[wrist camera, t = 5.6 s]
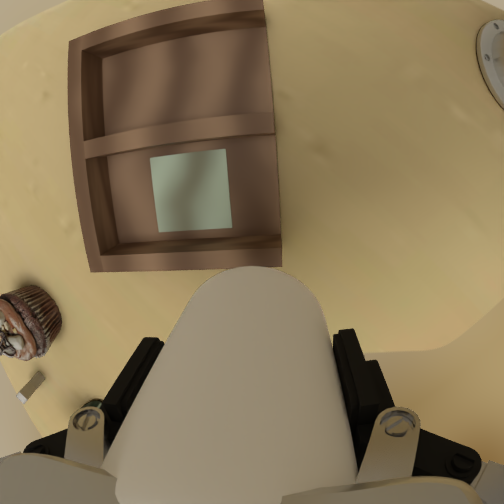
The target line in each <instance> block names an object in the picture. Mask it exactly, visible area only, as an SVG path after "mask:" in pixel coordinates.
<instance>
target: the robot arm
mask: <svg viewBox="0 0 504 504" xmlns="http://www.w3.org/2000/svg"><path fill="white" fill-rule="evenodd" d="M477 55H478V61H479V65H480V68H481V72H482V74H483V77H484V79H485V82H486V83H487V85H488V87H489V89H490V91H491V93H492V94H493V96H494V97H495V99H496V100H497V102H498V103H499V104H500V105H501V107H502V108H503V109H504V20H493V21H490V22H488V23H486V24H485V25H484V26H483V27H482V28H481V29H480V31H479V33H478V37H477ZM163 346H164V342H163V341H160V340H159V338H155V337H145V338H143V340H142V341H141V343H140V344H139V346H138V347H137V349H136V350H135V352H134V353H133V355H132V356H131V358H130V359H129V361H128V362H127V364H126V365H125V367H124V369H123V370H122V372H121V373H120V375H119V376H118V378H117V379H116V381H115V383H114V384H113V386H112V387H111V389H110V390H109V392H108V394H107V395H106V397H105V398H104V400H103V402H102V404H101V406H100V408H97V407H84V408H81V409H79V410H77V411H76V412H75V413H73V415H72V416H71V417H70V420H69V425H68V429H65V430H63V431H60V432H57V433H55V434H52V435H49V436H47V437H44V438H41V439H39V440H36V441H33V442H31V443H30V444H29V445H27V446H26V448H25V449H24V452H23V453H21V452H18V453H14V454H11V455H9V456H6V457H3V458H0V504H120V503H119V502H118V500H117V498H116V495H115V487H116V481H117V478H116V477H114V476H113V475H111V474H110V473H108V472H107V471H106V470H104V469H100V467H101V465H102V463H103V461H104V459H105V457H106V455H107V453H108V451H109V449H110V447H111V445H112V443H113V441H114V439H115V437H116V435H117V433H118V431H119V429H120V427H121V425H122V423H123V421H124V419H125V417H126V416H127V414H128V412H129V410H130V408H131V406H132V404H133V402H134V400H135V398H136V396H137V394H138V393H139V391H140V389H141V387H142V385H143V383H144V381H145V379H146V378H147V376H148V374H149V372H150V370H151V368H152V366H153V365H154V363H155V361H156V359H157V357H158V355H159V354H160V352H161V350H162V348H163ZM333 352H334V356H335V360H336V364H337V369H338V373H339V378H340V382H341V387H342V391H343V396H344V401H345V405H346V410H347V415H348V420H349V425H350V430H351V435H352V440H353V446H354V451H355V457H356V462H357V468H358V476H357V478H356V481H355V484H350V485H342V486H332V487H320V488H316V489H312V490H308V491H303V492H299V493H295V494H290V495H286V496H282V501H281V504H504V465H501V464H498V463H495V462H492V461H489V462H488V463H485V462H482V461H481V458H480V456H479V454H478V453H477V452H476V451H475V450H473V449H472V448H470V447H467V446H464V445H461V444H459V443H456V442H453V441H451V440H448V439H445V438H443V437H440V436H438V435H435V434H433V433H430V432H428V431H425V430H423V429H421V428H420V419H419V417H418V415H417V414H416V413H415V412H414V411H412V410H410V409H408V408H404V407H395V405H394V402H393V400H392V397H391V394H390V392H389V389H388V386H387V384H386V381H385V379H384V376H383V373H382V371H381V369H380V366H379V363H378V361H377V360H370V361H365V358H364V355H363V352H362V350H361V347H360V344H359V341H358V339H357V336H356V333H355V330H354V329H344V330H339V332H338V334H334V335H333Z"/></svg>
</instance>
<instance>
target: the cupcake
mask: <svg viewBox="0 0 504 504" xmlns="http://www.w3.org/2000/svg"><path fill="white" fill-rule="evenodd" d="M61 324H62V320H61V314H60V312H59V309H58V307H57V305H56V303H55V301H54V300H52V299H51V298H50V296H49V295H48V294H47V293H46V292H45V291H44V290H43V289H41V288H40V287H37V286H27V287H24V288H21V289H18V290H15V291H11V292H8V293H5V294H2V295H1V296H0V356H1V355H2V354H3V355H6V356H8V357H10V358H13V357H16V358H18V359H20V360H24V361H28V360H30V359H32V358H33V357H36V358H37V357H39V358H40V357H43V356H44V355H45V354H46V353H47V351H48V350H49V348H50V346H51V344H52V342H53V341H54V339H55V337H56V336H57V334H58V333H59V331H60V329H61V328H60V327H61Z"/></svg>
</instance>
